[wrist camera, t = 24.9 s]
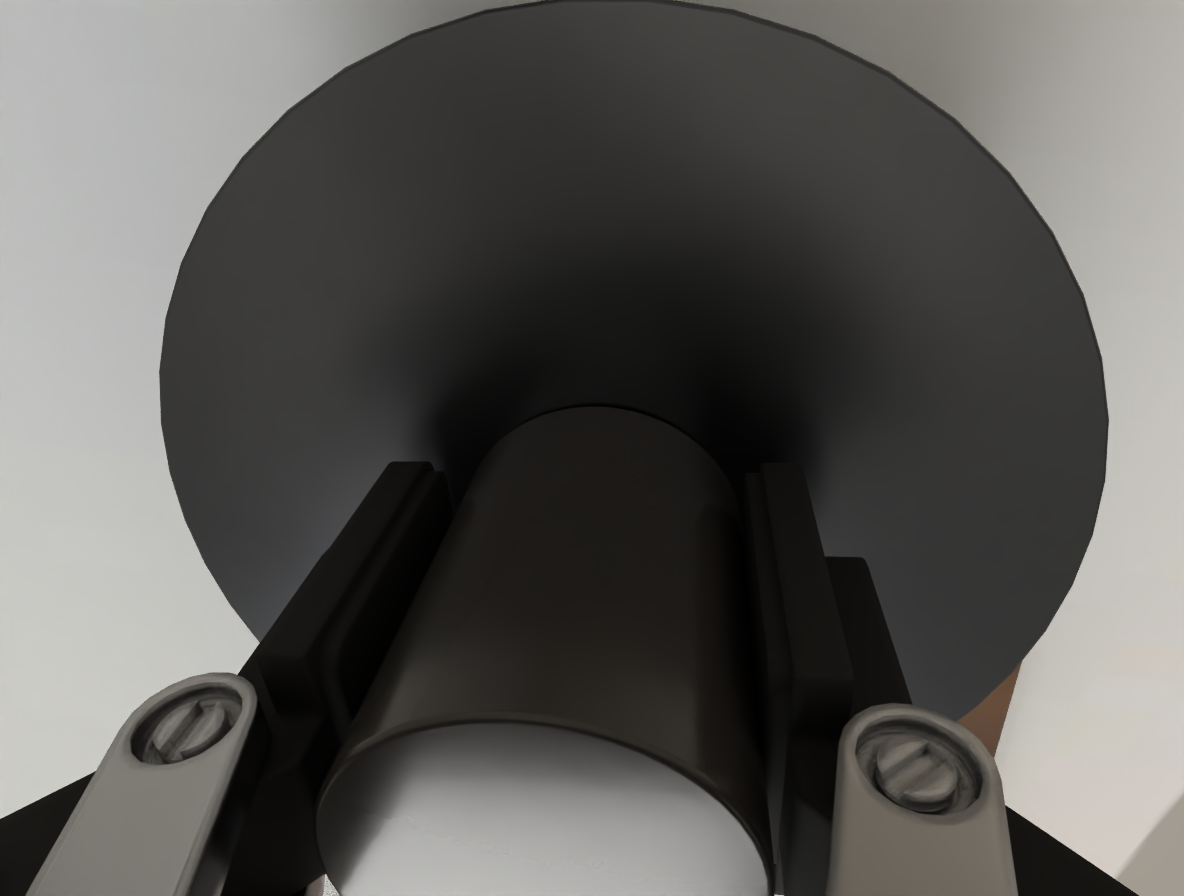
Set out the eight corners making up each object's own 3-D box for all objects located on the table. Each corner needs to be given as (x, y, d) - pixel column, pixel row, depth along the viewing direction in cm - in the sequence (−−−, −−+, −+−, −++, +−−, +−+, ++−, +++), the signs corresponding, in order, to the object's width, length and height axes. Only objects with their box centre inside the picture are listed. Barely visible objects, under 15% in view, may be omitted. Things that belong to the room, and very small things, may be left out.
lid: (61, 41, 10) (-780, 58, 4) (1214, -51, 8) (2447, -236, 2) (314, 751, 17) (117, 1126, 11) (977, 791, 15) (1154, 1267, 9)
